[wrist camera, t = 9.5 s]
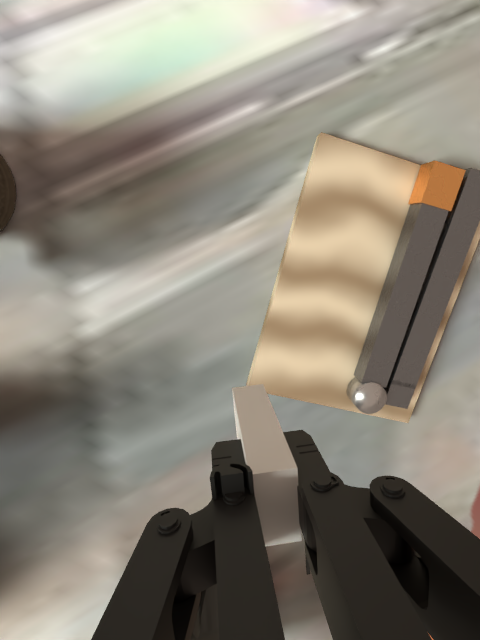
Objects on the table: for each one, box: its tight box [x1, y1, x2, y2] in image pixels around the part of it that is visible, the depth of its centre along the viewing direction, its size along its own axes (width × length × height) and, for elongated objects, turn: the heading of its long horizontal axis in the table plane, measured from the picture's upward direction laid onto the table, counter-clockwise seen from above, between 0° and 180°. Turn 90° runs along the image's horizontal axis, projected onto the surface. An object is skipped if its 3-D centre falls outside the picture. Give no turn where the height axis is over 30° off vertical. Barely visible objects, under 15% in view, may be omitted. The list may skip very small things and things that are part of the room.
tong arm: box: [346, 161, 466, 414], centre depth 40 cm, size 27×4×3 cm, turn 166°
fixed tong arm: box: [383, 168, 480, 409], centre depth 41 cm, size 26×3×2 cm, turn 165°
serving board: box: [246, 133, 480, 423], centre depth 42 cm, size 28×20×2 cm
